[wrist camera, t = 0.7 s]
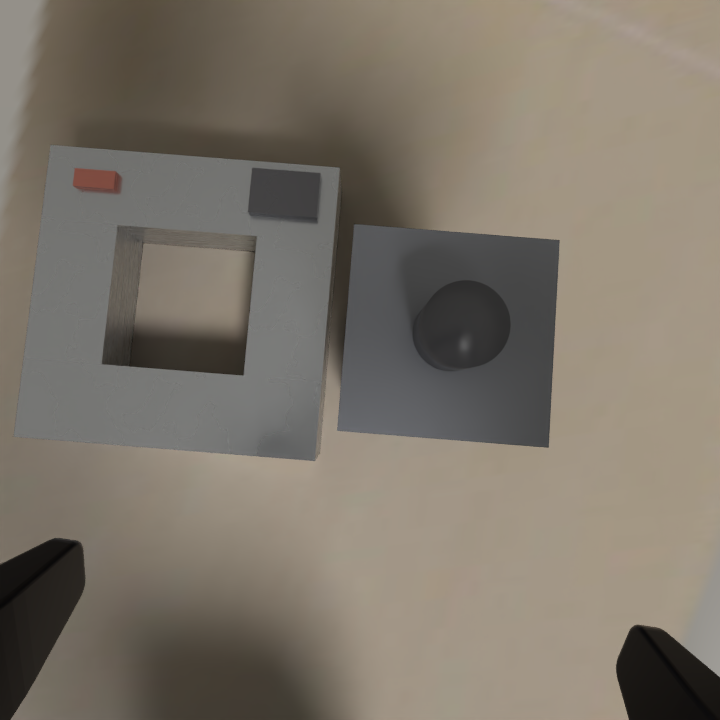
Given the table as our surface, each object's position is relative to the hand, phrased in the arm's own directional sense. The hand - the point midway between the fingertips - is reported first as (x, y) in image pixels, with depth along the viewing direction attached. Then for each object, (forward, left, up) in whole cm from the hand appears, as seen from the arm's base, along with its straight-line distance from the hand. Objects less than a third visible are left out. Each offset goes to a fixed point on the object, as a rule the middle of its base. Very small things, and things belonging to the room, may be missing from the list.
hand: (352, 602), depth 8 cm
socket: (+7, +8, -15) cm, 19 cm away
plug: (+5, -2, -15) cm, 16 cm away
